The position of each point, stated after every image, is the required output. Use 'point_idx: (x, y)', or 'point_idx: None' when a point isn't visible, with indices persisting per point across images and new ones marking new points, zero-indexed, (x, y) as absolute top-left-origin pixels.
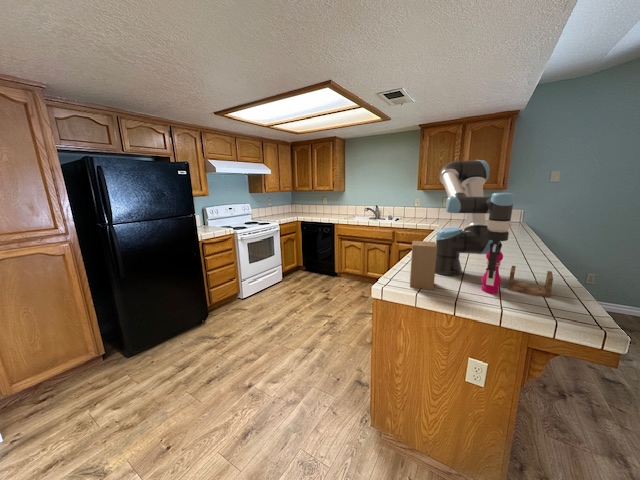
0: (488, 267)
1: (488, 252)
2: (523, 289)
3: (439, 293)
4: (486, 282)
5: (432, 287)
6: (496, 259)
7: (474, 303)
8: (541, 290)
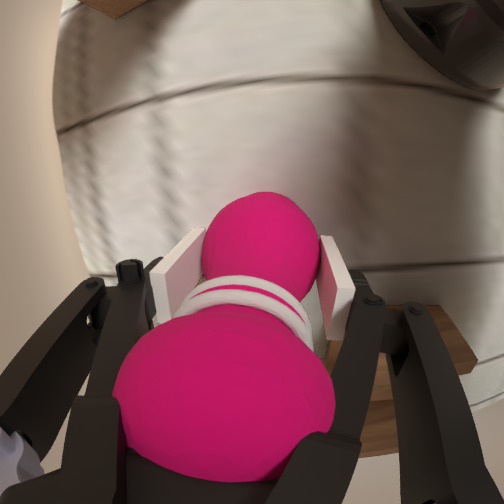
0: (77, 292)
1: (143, 402)
2: (332, 358)
3: (93, 54)
4: (190, 233)
5: (107, 14)
6: (75, 393)
7: (78, 192)
8: None
